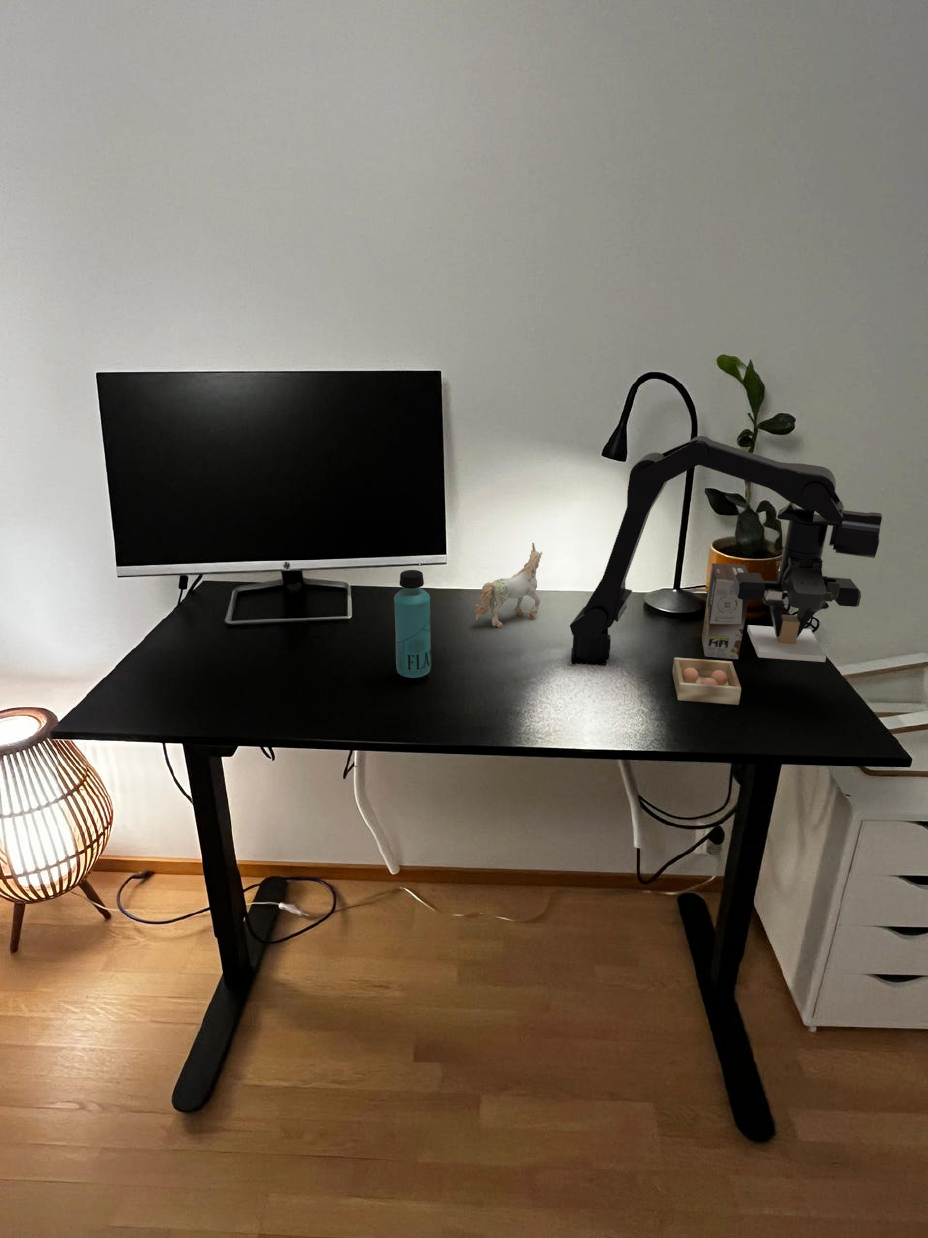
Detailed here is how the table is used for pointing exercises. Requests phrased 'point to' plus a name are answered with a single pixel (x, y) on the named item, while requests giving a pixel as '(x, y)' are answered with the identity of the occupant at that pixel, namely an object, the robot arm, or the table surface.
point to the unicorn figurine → (511, 590)
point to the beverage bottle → (412, 626)
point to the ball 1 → (690, 675)
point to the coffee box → (723, 613)
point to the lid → (786, 642)
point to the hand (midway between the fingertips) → (786, 636)
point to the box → (704, 691)
